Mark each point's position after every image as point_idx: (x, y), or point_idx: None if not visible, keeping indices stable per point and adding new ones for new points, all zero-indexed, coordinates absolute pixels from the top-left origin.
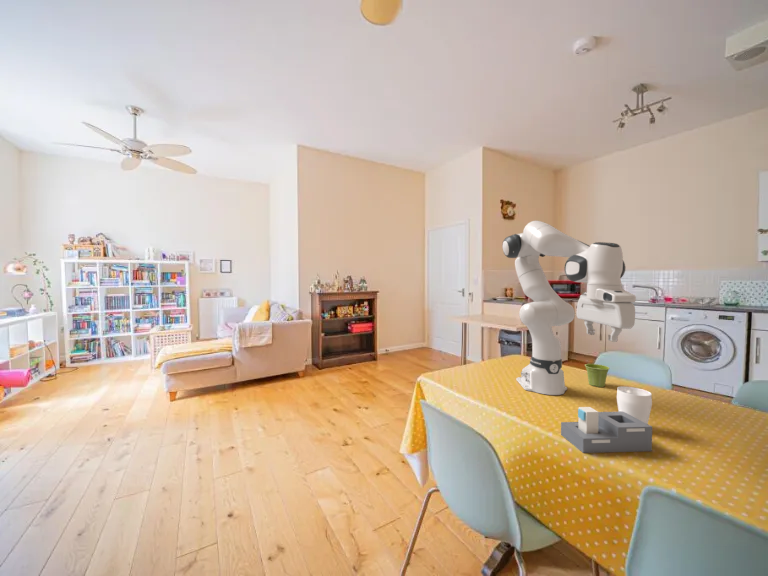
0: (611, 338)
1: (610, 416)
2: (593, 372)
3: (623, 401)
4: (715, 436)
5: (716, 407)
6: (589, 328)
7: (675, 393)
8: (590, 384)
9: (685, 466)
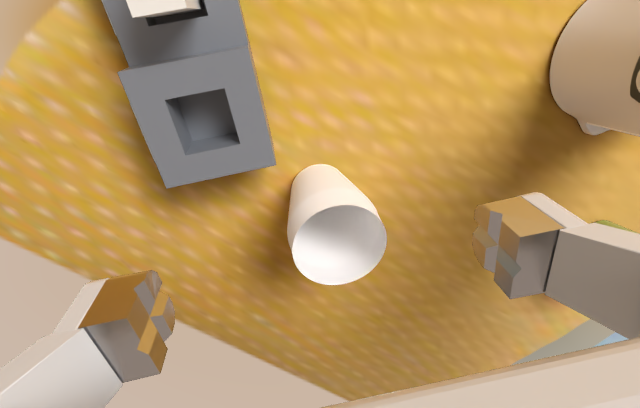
0: (77, 299)
1: (229, 102)
2: None
3: (316, 192)
4: (294, 321)
5: None
6: (563, 254)
7: (504, 364)
8: (599, 221)
9: (121, 193)
